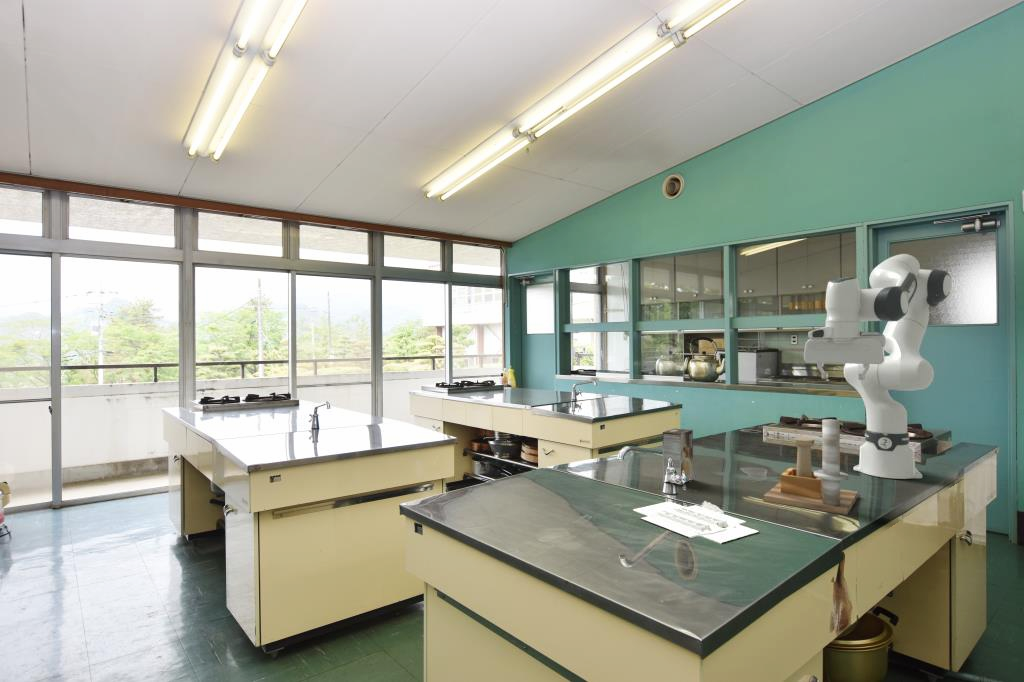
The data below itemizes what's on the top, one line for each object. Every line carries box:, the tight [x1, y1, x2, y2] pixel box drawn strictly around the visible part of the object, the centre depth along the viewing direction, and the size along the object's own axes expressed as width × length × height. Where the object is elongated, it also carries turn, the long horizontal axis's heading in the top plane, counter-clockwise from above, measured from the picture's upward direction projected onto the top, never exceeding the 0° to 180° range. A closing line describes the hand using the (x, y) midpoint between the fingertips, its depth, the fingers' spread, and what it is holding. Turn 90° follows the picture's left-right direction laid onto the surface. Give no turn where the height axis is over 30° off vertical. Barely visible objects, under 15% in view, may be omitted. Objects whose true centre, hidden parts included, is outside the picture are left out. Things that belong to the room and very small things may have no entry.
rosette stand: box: [763, 418, 859, 516], centre depth 153 cm, size 21×20×24 cm
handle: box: [793, 436, 815, 478], centre depth 156 cm, size 5×6×15 cm
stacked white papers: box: [632, 500, 761, 545], centre depth 136 cm, size 20×28×4 cm
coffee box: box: [662, 428, 694, 483], centre depth 174 cm, size 9×6×16 cm
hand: (842, 379), depth 160 cm, fingers open, 8 cm apart
